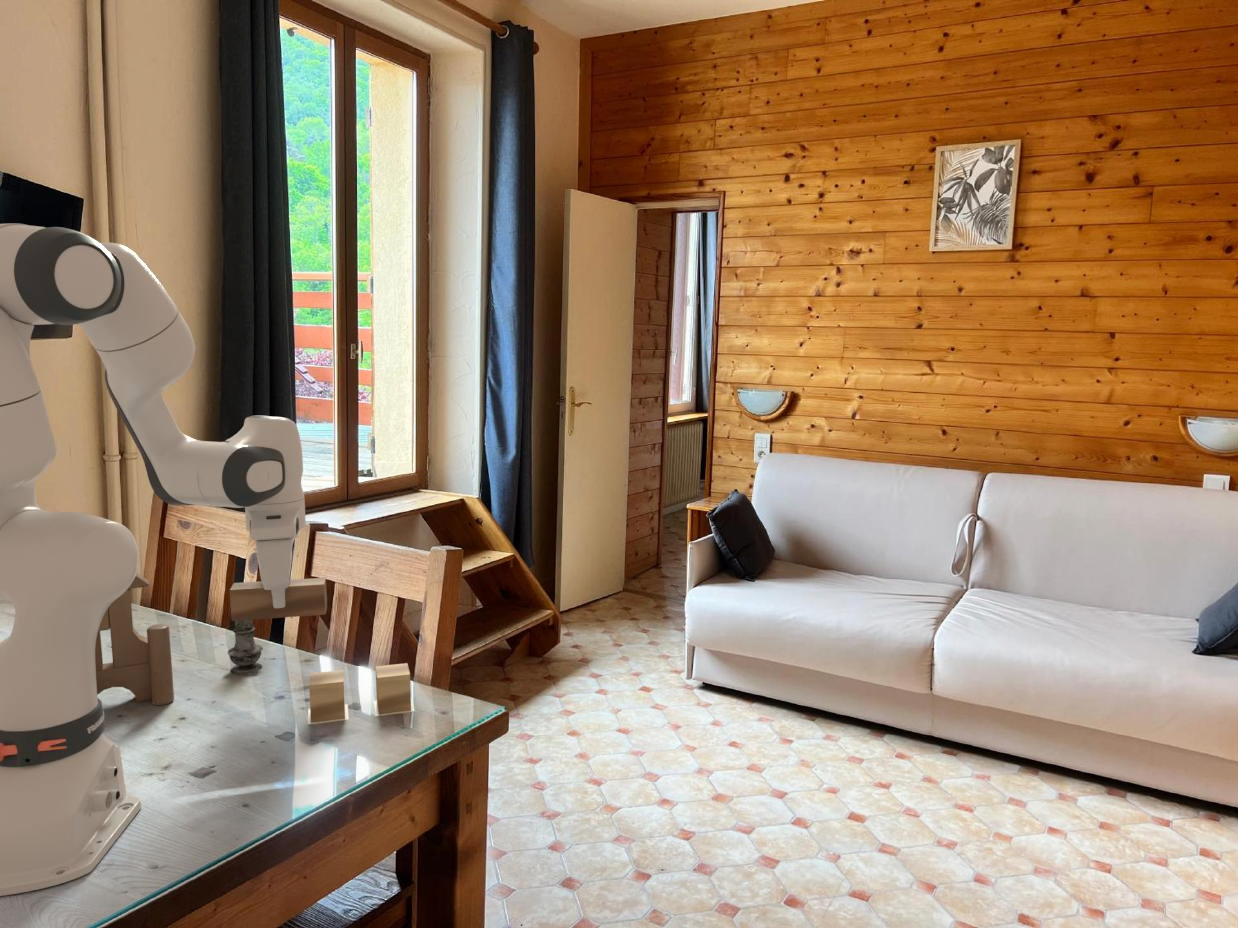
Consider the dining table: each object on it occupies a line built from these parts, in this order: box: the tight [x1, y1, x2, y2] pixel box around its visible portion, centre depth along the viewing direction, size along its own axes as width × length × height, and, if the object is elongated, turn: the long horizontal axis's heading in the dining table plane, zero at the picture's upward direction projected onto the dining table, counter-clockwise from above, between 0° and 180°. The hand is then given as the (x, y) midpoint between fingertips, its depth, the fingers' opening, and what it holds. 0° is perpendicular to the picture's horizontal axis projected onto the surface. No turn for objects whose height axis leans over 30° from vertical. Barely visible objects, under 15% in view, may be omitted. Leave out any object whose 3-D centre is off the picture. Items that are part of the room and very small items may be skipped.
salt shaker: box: [227, 620, 264, 676], centre depth 158 cm, size 6×6×12 cm
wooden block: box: [229, 577, 328, 622], centre depth 142 cm, size 4×14×5 cm, turn 104°
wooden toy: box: [95, 572, 175, 706], centre depth 141 cm, size 16×7×25 cm, turn 120°
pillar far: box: [375, 662, 412, 714], centre depth 141 cm, size 5×5×6 cm
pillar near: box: [308, 669, 346, 723], centre depth 138 cm, size 5×5×6 cm
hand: (280, 601), depth 142 cm, fingers closed on wooden block, 4 cm apart
